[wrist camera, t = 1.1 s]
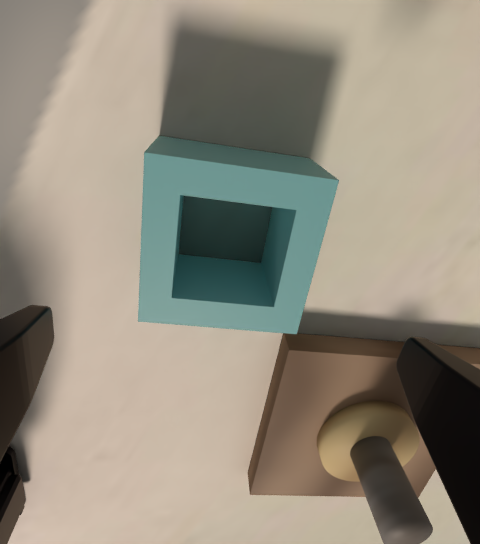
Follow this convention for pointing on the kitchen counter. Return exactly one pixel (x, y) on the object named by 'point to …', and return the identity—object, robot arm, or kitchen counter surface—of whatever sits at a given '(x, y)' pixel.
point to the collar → (223, 272)
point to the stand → (346, 430)
